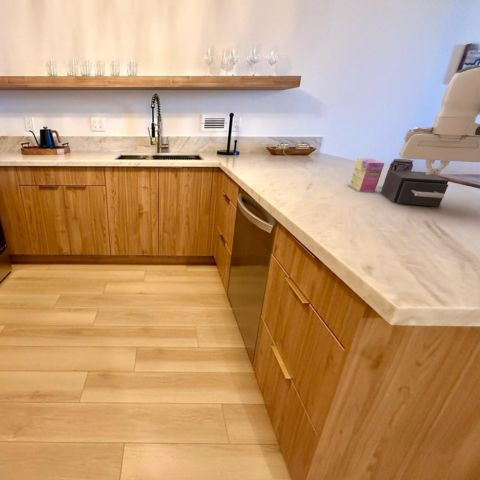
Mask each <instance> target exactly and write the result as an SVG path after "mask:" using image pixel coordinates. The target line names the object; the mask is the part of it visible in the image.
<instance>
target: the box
mask: <svg viewBox="0 0 480 480" xmlns="http://www.w3.org/2000/svg"><path fill="white" fill-rule="evenodd" d="M384 166H385V162H382V161H379V160H376V159H374V158H369V157H368V158H367V157H366V158H365V157H363V158H362V157H357V158H356V161H355V165H354V168H353V172H352V175H351V178H350V182H349V185H348V186H349V187H351V188H352V189H354V190H355V191H358V192H360V193H375V192H376V189H377V186H378V184H379V181H380V177H381V176H382V172H383V170H384Z"/></svg>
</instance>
